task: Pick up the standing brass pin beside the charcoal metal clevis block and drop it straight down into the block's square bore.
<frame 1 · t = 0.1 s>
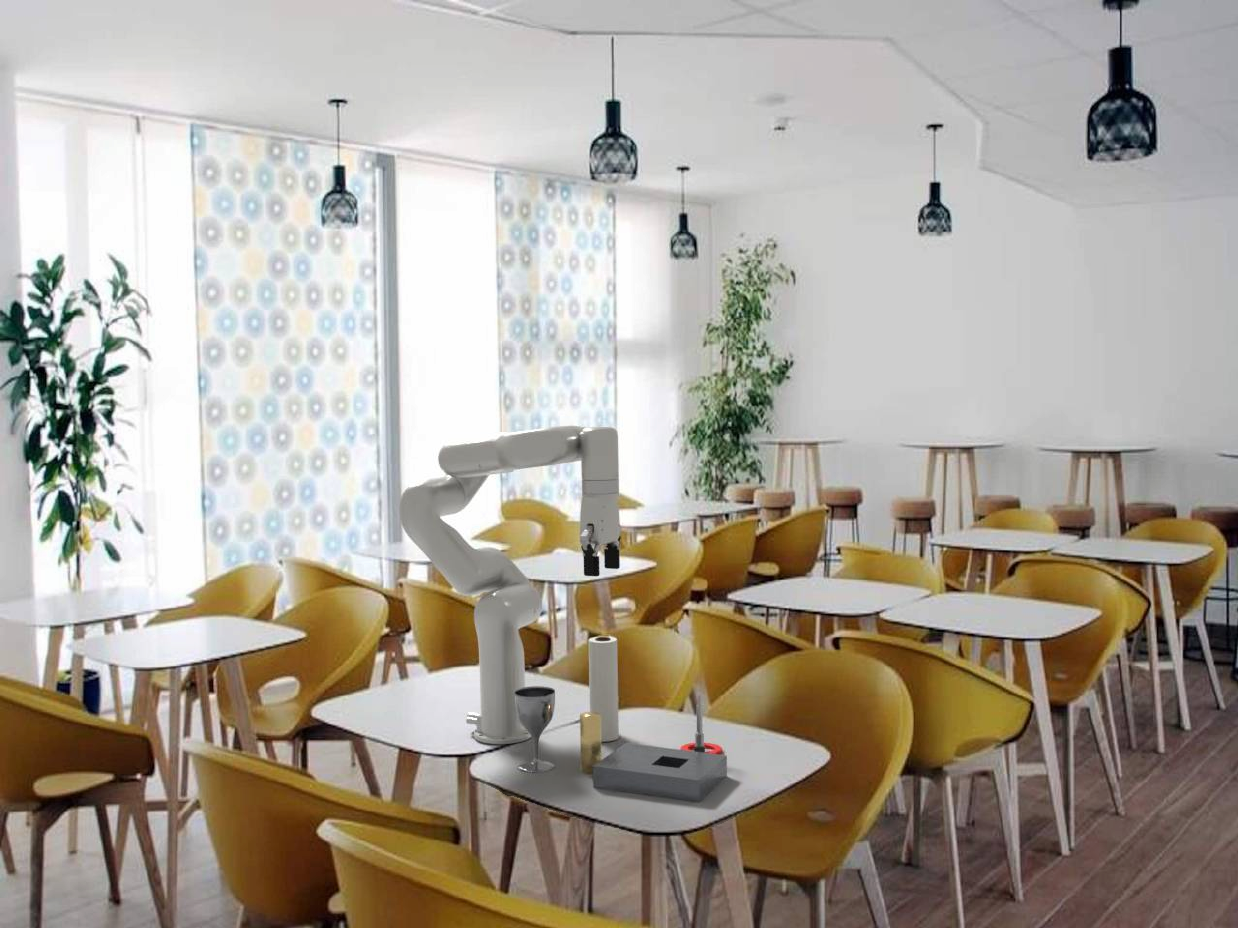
hand: (602, 572, 239), 37 cm above the table, tool pointing down, fingers open, 9 cm apart
brass pin: (591, 770, 229), on the table
tow hook: (701, 754, 239), on the table
wine glass: (536, 767, 232), on the table
paper towel roll: (606, 738, 250), on the table
clevis block: (660, 781, 222), on the table
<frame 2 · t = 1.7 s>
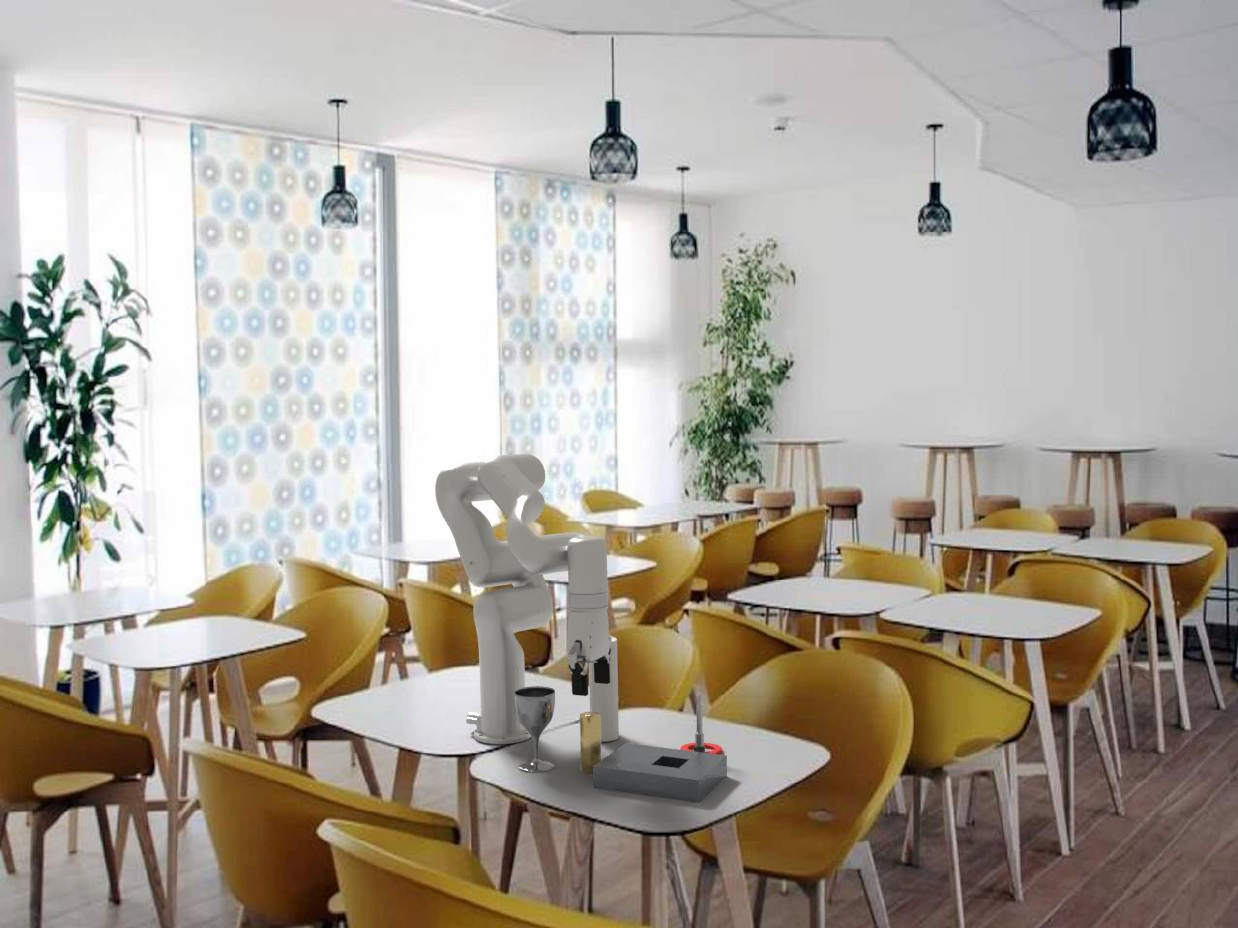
hand: (591, 688, 228), 16 cm above the table, tool pointing down, fingers open, 9 cm apart
nothing on the table moved.
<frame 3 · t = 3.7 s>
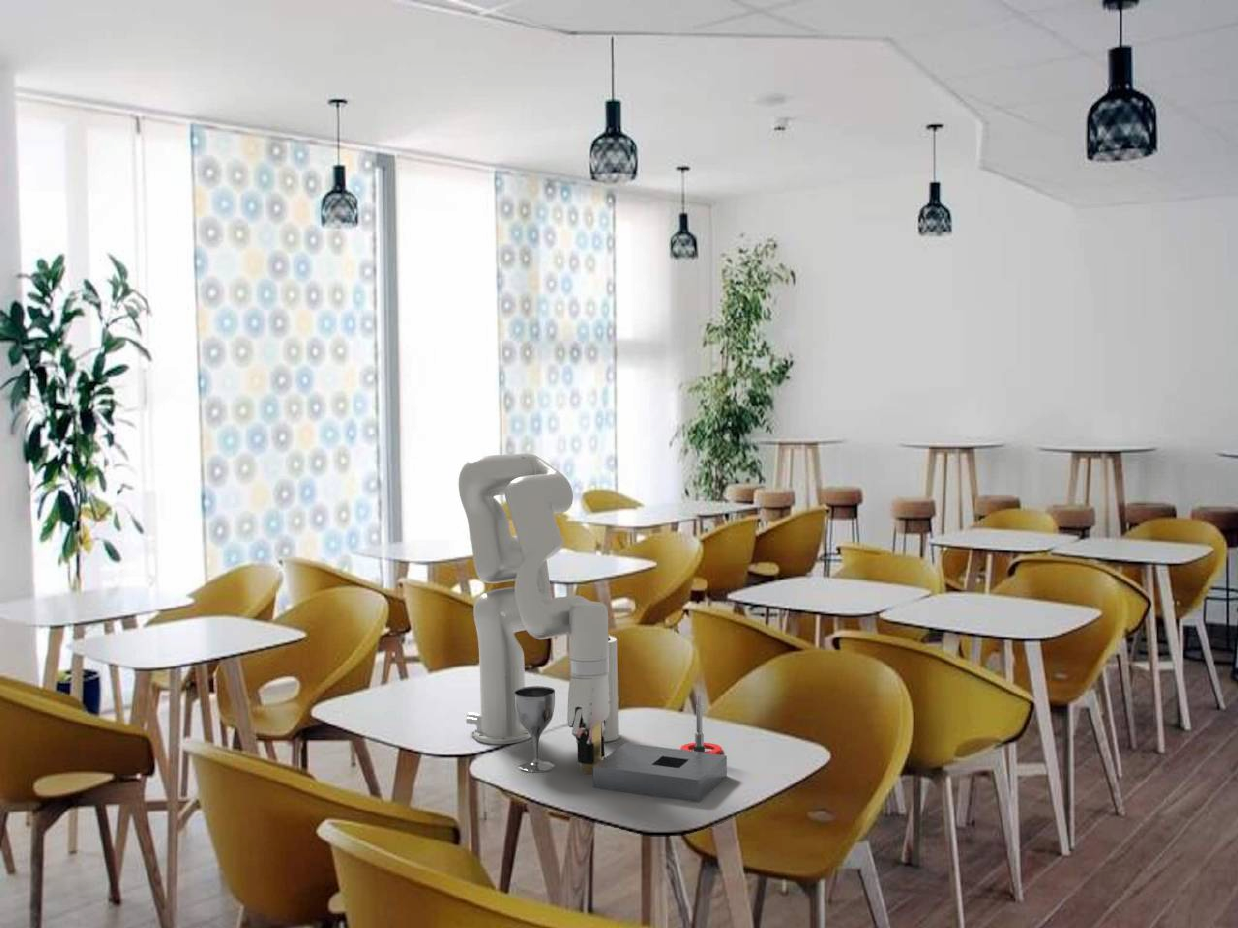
hand: (591, 758, 229), 2 cm above the table, tool pointing down, fingers closed on brass pin, 4 cm apart
brass pin: (591, 770, 229), on the table, touching gripper
everything else where it was.
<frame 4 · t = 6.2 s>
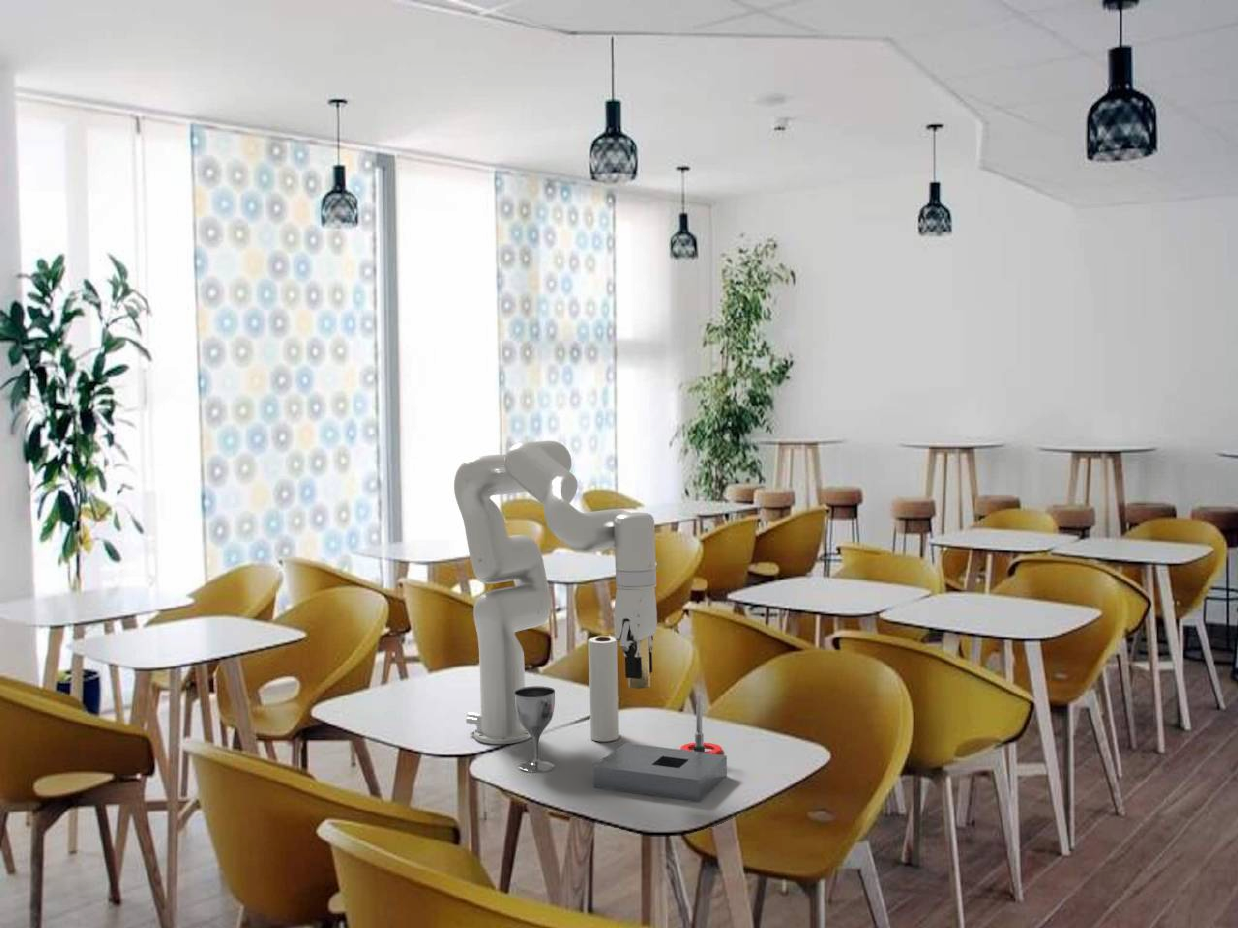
hand: (638, 674, 223), 20 cm above the table, tool pointing down, fingers closed on brass pin, 3 cm apart
brass pin: (639, 686, 223), point 18 cm above the table, touching gripper
everything else where it was.
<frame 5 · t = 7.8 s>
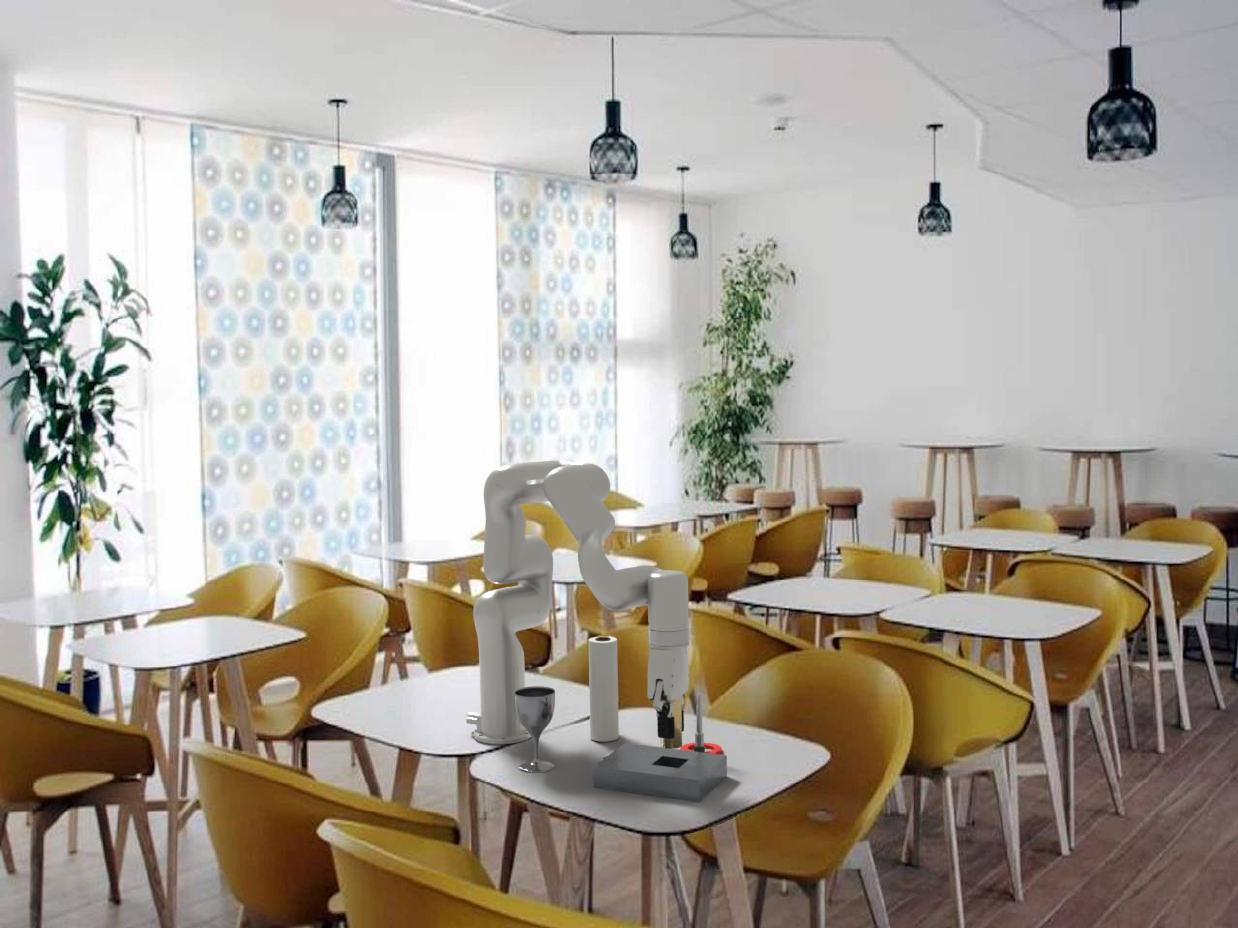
hand: (671, 733, 220), 9 cm above the table, tool pointing down, fingers closed on brass pin, 3 cm apart
brass pin: (671, 745, 220), point 7 cm above the table, touching gripper
everything else where it was.
when the fingers open (5 cm above the table, at t = 9.0 s): brass pin drops 3 cm, resting in clevis block.
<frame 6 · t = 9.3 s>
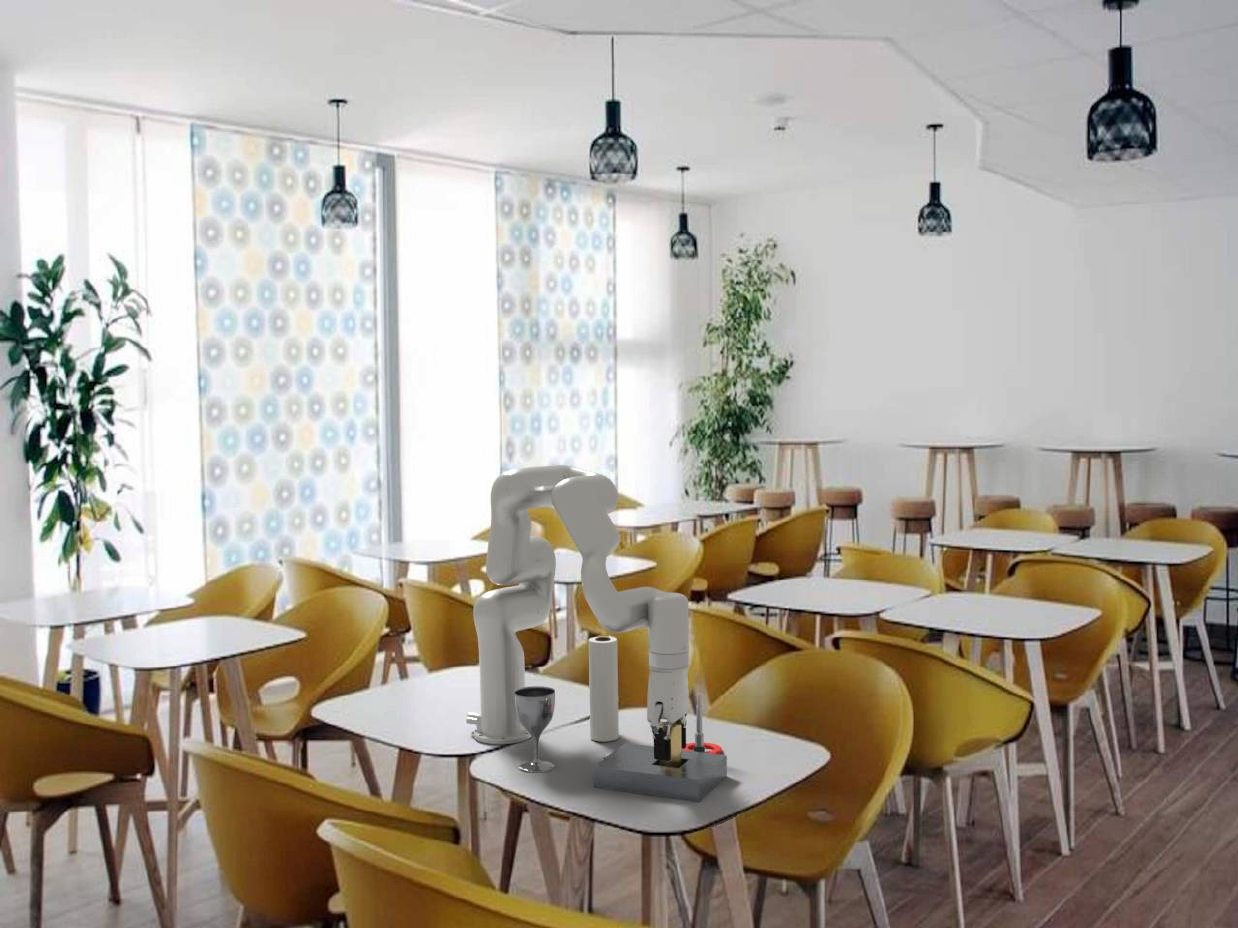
hand: (670, 752, 221), 6 cm above the table, tool pointing down, fingers open, 7 cm apart
brass pin: (670, 782, 221), resting in clevis block
everything else where it was.
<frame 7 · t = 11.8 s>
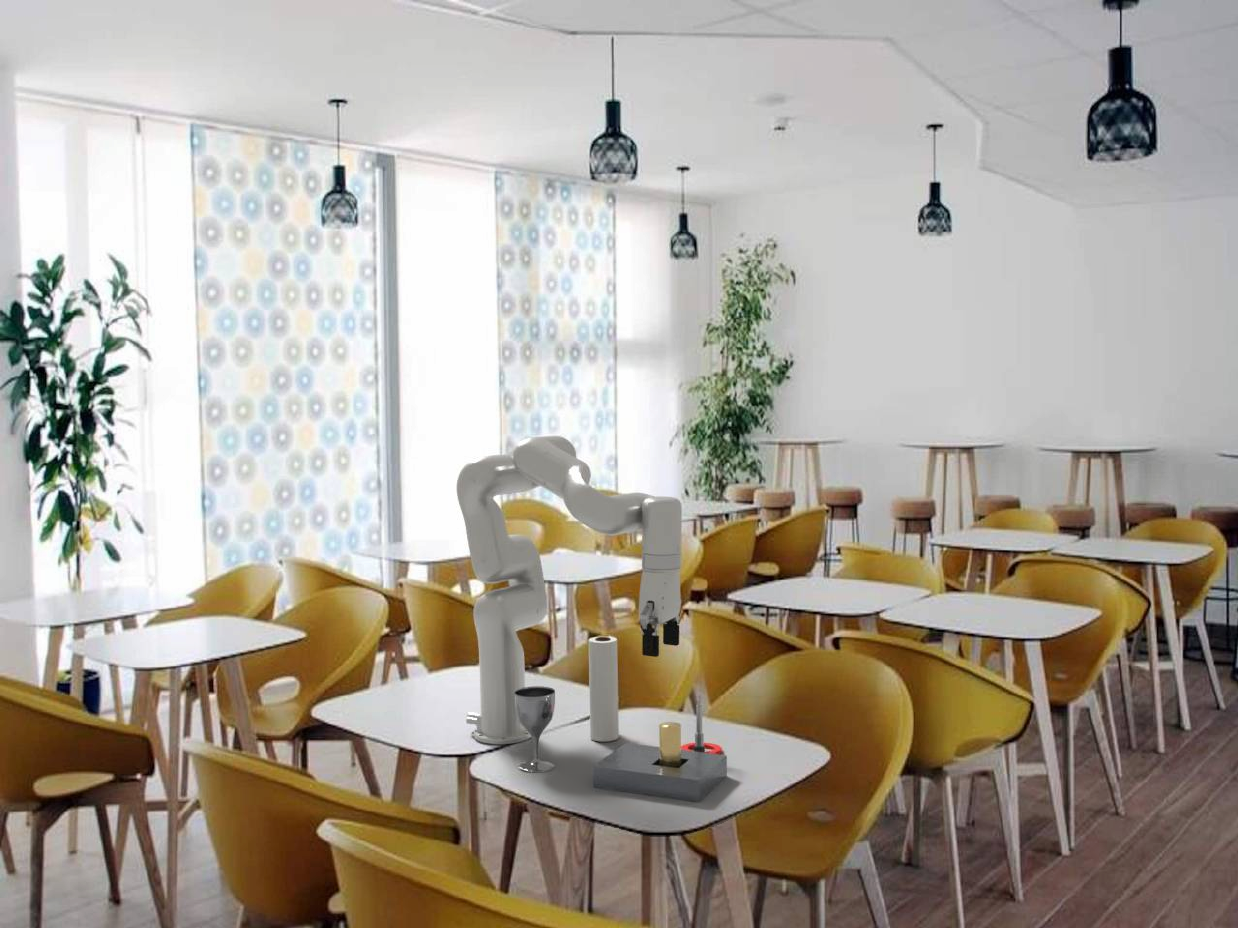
hand: (661, 650, 226), 24 cm above the table, tool pointing down, fingers open, 9 cm apart
nothing on the table moved.
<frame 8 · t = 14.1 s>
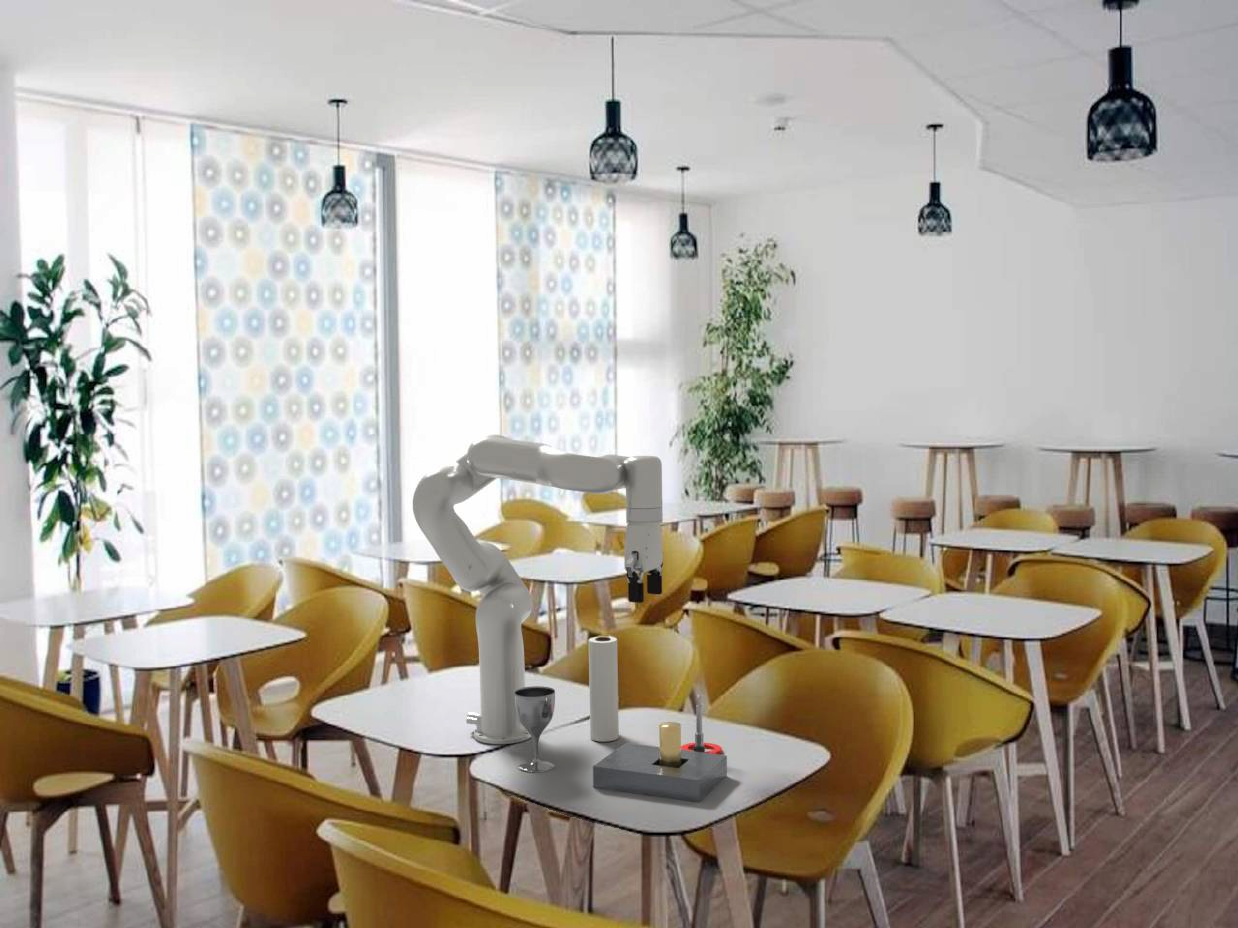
hand: (645, 597, 245), 30 cm above the table, tool pointing down, fingers open, 9 cm apart
nothing on the table moved.
at the end: brass pin 0.1 cm from the target spot on the clevis block, point 0.0 cm above the clevis block's base; brass pin tilted 0°; the gripper is holding nothing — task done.
